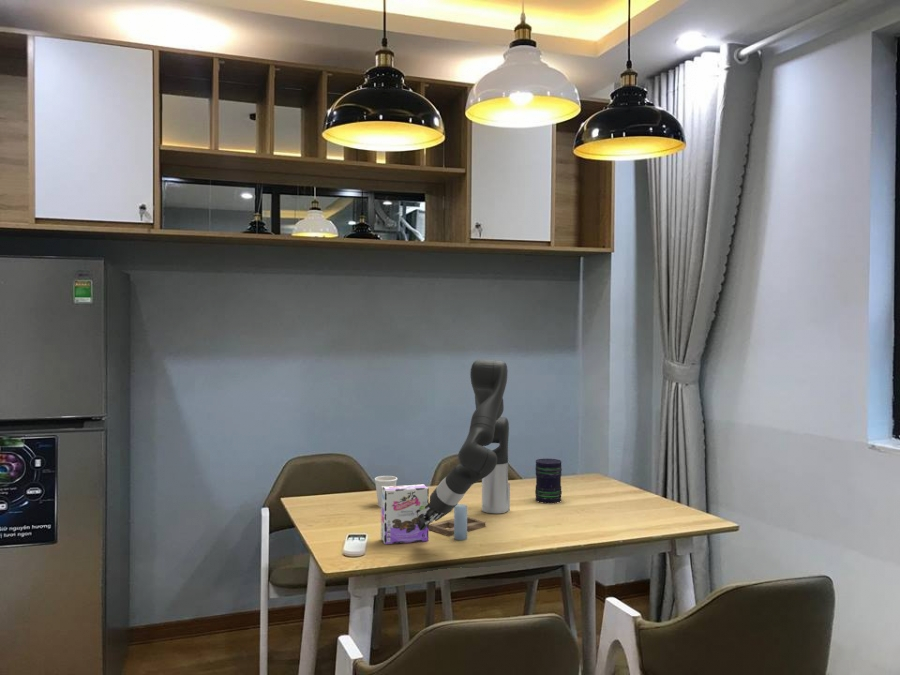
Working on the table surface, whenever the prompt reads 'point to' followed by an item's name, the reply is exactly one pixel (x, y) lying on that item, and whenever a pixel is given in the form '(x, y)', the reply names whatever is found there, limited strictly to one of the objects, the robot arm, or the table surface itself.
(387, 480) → the dixie cup
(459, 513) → the blue pin
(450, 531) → the socket board
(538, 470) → the storage jar
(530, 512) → the table surface
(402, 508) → the candy box
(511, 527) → the table surface
